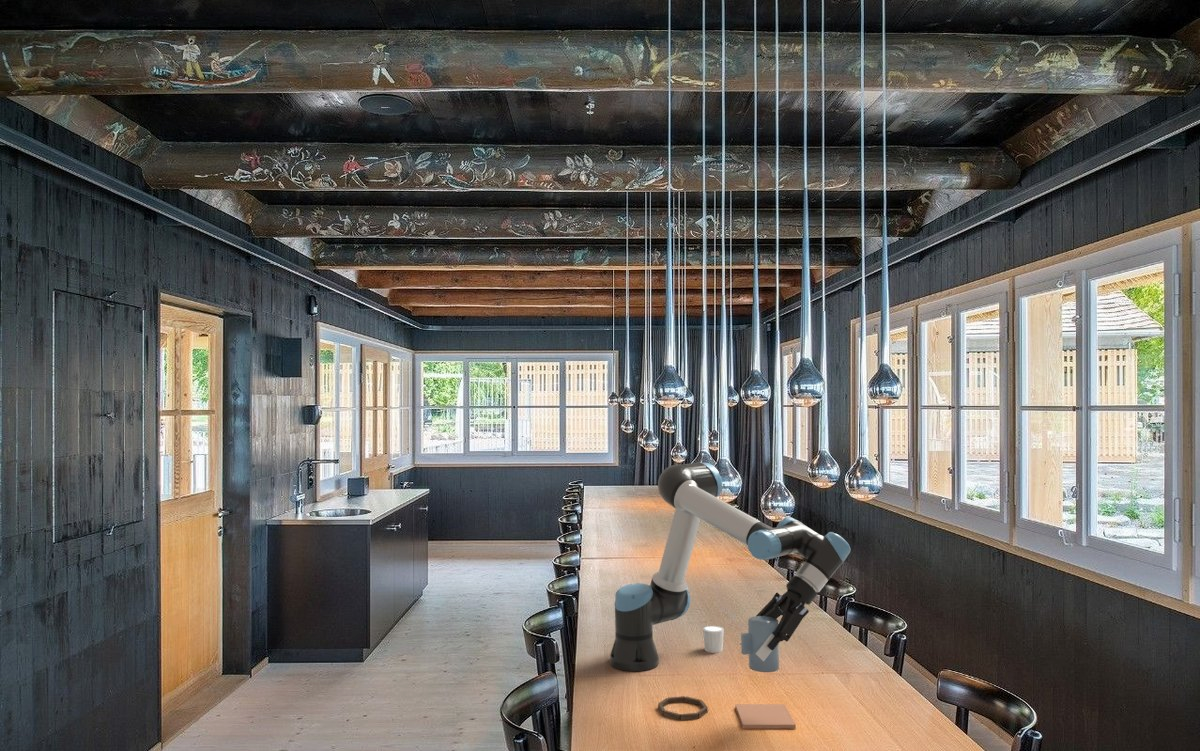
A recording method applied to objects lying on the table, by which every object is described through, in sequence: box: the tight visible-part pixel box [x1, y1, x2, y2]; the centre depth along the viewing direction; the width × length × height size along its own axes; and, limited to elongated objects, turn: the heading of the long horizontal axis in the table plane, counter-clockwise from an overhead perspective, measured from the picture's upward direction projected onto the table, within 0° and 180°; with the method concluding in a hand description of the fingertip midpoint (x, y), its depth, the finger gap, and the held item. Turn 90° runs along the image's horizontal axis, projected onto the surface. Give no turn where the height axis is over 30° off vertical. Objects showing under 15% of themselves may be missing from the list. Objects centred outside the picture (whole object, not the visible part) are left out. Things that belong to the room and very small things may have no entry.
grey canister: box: [740, 615, 780, 673], centre depth 201 cm, size 10×8×12 cm
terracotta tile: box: [734, 703, 797, 730], centre depth 200 cm, size 13×13×1 cm
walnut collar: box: [657, 695, 709, 721], centre depth 206 cm, size 12×12×1 cm
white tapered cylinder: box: [702, 625, 725, 654], centre depth 255 cm, size 7×7×7 cm
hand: (751, 652), depth 200 cm, fingers closed on grey canister, 8 cm apart
